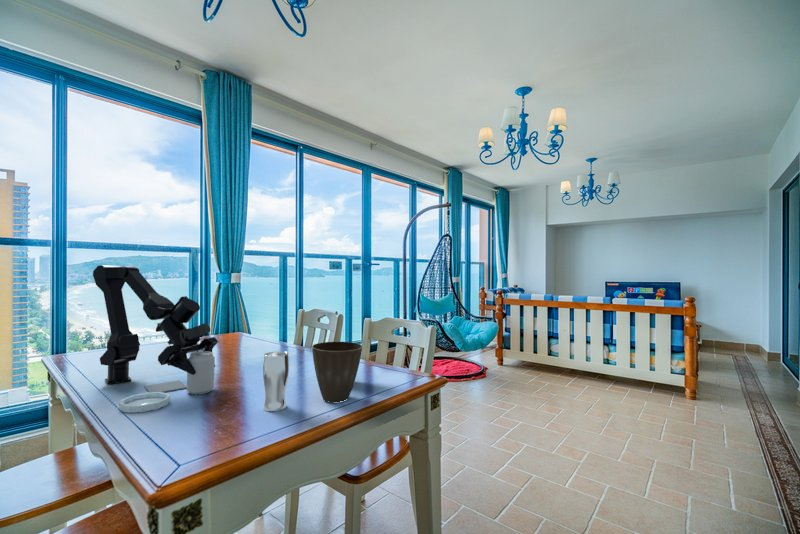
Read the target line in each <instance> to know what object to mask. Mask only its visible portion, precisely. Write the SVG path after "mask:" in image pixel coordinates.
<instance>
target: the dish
mask: <svg viewBox="0 0 800 534" xmlns="http://www.w3.org/2000/svg"><path fill="white" fill-rule="evenodd" d="M170 401H171V394H169V392H164V393H163V392H144V393H138V394H137V393H136V394H133V395H131V396H127V397H124V398H123V399H121V400H119V402H118V403H119V411H120V412H122V413H126V412H127V413H131V414H136V413H137V412H139V413H146V411H147V412H151V410H152V411H155V409H156V410H159V409H162V408H163V407H166V406H168V405H169V404H170ZM161 407H162V408H161Z"/></svg>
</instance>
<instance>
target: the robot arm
mask: <svg viewBox="0 0 800 534" xmlns="http://www.w3.org/2000/svg"><path fill="white" fill-rule="evenodd" d="M92 271H93V272H92V276H93V279H94V283H95V285H96V286H97V288H99V290H100V291H101V292H102V293H103V298H104V303H105V307H106V314H107V319H108V324H109V330H110V336H109V338H108V340H107V343H106V350H105V352H104V353H103V354H102V355H101V356H100V357H99V362H100V363H99V364H100V365H101V366H107V378H104V382H105V384H106V385H113V384H118V383H119V384H120V383H125V382H131V381H132V378H131V377H130V376H129V375H130V362H132V361H134V362H135V361H136V360H137V357H138V354H139V352H140V346H141V344H140V339H139V335H138V333H135V334H134V333H132V331H130V328H129V327H130V326H129V322H128V318H127V317H128V316H127V311H126V305H125V300H124V295H123V287H124V285H125V284H127V286H129V288H130V289H131V290H132V291H133V293H134V294H135V295H136V296H137V297H138V298H139V300H140V301H141V303H142V310H143V312H144V313H145V315H146V317H147V318H148V319H149V320H151V321H158V320H162V321H161V322H157V324H156V328H155V332H156V333H158V332H163V333H164V335H165V336H166V337H167V338H168V341H167V344H168V346H166V347H165V348H164V349H163V350H162V351H161V352H160V353H159V355H158V356H157V361H158V363H159V365H160V366H164V365H167V366H171V367H174V368H177V369H178V370H179V369H180V370H182V371H184V372H186V373H187V372H188V373H190V374H192V375H194V374H195V373H196V371H195V369H194V368H193V366H192V364H191V363H190V361H189V360H188V359H189V357H188V355H187V354H191V353H195V352H212V353H213V349H214V348H215V347H216V345H217V344H218V343H219V340H217V338H216V336H215V337H214V336H210V337H206V338H203V340H202V337H204V336H207V335H209V333H210V332H211V327H210V325H208V323H207V322H204V323H201V324H199V325H196V326H194V327H190V328H187V327H186V325H185V324H187V323H189V322H190V321H191V319H192V320H193V318H194V316H196V314H197V313H198V312H199V311H200V309H201V306H200V304H199V303H198V302H196V301H195V300H193V299H192V298H188V296H187V295H185V296H180V298H179V299H178V301H177V302H176V303H175V304H174V302H173V301H172V300H170V299H169V298H168V297H165V296H164V295H162V294H159V293H158V292H157V291H156V289H154V287H153V286H152V285H151V284H150V283H149V282H148V280H147V279H146V278H145V277H144V276H143V275H142V274H141V272H140V269H139V268H138V267H136V266H129V265H127V266H123V265H122V266H121V265H108V264H105V265H104V264H103V265H101V264H100V265H97V266H96V267H95V269H94V270H92ZM200 341H201V342H200ZM212 355H213V356H214V353H213V354H212ZM215 368H216V365H215V366H214V369H215Z"/></svg>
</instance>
